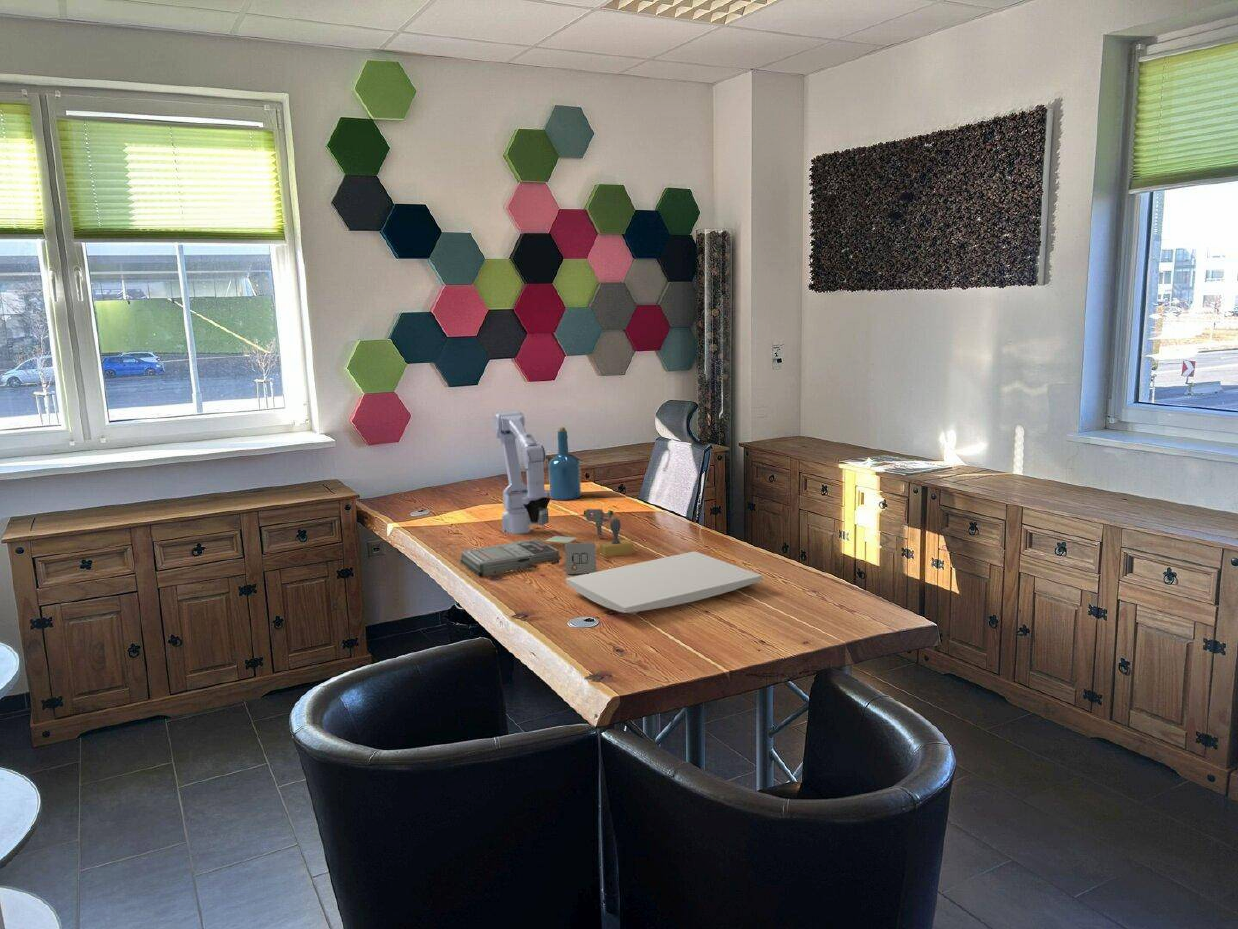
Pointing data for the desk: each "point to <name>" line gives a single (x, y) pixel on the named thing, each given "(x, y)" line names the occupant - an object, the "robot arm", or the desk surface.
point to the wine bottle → (564, 471)
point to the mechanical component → (598, 517)
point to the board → (662, 582)
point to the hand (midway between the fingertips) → (537, 520)
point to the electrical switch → (580, 558)
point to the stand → (561, 539)
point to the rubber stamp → (616, 543)
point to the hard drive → (508, 557)
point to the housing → (540, 517)
